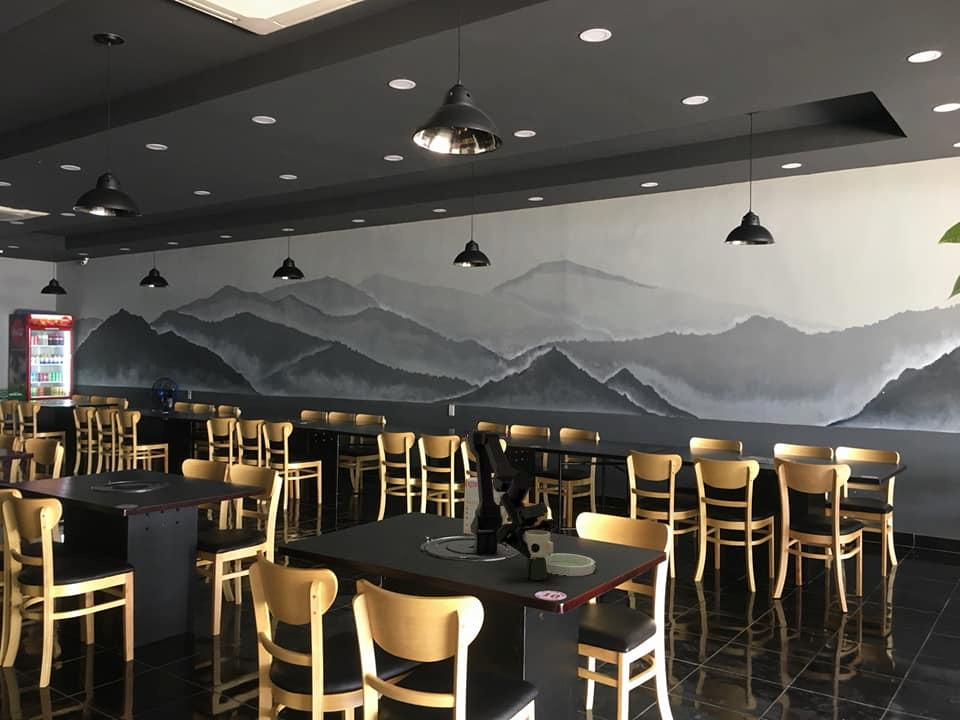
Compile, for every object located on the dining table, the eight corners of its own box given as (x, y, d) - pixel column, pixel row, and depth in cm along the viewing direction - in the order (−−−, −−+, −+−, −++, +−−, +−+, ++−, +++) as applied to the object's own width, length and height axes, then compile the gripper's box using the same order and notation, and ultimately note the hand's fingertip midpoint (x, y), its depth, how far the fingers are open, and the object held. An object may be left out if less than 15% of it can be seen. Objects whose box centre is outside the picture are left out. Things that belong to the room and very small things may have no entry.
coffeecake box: (508, 536, 264) (510, 480, 265) (497, 539, 259) (499, 482, 259) (474, 530, 273) (476, 476, 273) (462, 533, 267) (464, 478, 268)
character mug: (512, 577, 211) (514, 530, 212) (528, 572, 217) (530, 527, 217) (543, 585, 204) (545, 537, 204) (559, 580, 209) (561, 533, 210)
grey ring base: (548, 576, 213) (549, 567, 213) (533, 562, 229) (533, 554, 229) (602, 575, 217) (602, 566, 217) (583, 561, 232) (583, 553, 232)
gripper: (503, 495, 209) (527, 543, 199) (554, 490, 220) (579, 536, 210) (485, 518, 215) (508, 566, 206) (535, 513, 226) (559, 558, 217)
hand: (540, 556), depth 209 cm, fingers closed on character mug, 7 cm apart
